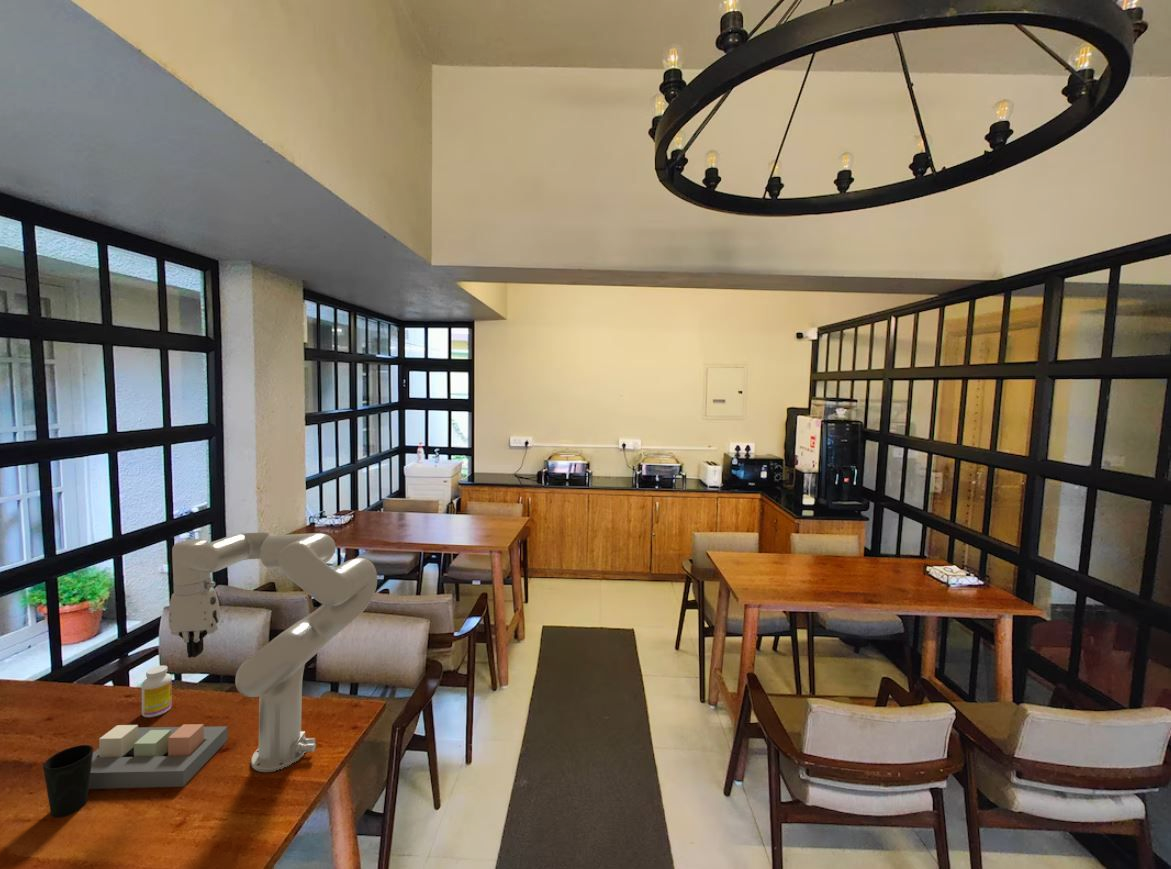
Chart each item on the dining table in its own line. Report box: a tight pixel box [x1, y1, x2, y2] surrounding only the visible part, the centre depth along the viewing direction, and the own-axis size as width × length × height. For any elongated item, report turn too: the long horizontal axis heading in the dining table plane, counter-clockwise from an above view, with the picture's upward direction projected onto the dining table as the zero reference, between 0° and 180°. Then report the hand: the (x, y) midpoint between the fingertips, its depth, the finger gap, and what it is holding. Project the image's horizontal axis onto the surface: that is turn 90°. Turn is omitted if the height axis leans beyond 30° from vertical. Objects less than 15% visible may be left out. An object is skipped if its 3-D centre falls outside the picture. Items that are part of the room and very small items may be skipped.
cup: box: [42, 744, 94, 819], centre depth 107 cm, size 8×8×12 cm
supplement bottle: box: [141, 665, 173, 718], centre depth 140 cm, size 7×7×13 cm
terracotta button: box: [167, 723, 205, 756], centre depth 121 cm, size 5×5×5 cm
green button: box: [133, 730, 171, 757], centre depth 121 cm, size 5×5×5 cm
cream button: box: [98, 724, 139, 757], centre depth 120 cm, size 5×5×5 cm
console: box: [88, 725, 229, 790], centre depth 121 cm, size 26×16×4 cm, turn 95°
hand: (195, 654), depth 125 cm, fingers closed
